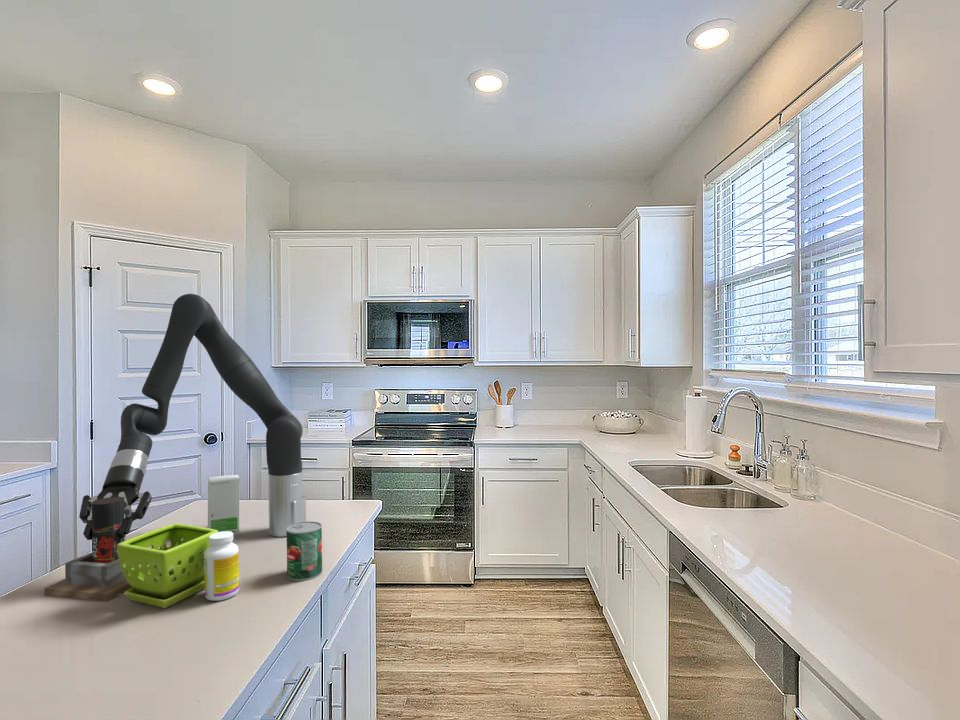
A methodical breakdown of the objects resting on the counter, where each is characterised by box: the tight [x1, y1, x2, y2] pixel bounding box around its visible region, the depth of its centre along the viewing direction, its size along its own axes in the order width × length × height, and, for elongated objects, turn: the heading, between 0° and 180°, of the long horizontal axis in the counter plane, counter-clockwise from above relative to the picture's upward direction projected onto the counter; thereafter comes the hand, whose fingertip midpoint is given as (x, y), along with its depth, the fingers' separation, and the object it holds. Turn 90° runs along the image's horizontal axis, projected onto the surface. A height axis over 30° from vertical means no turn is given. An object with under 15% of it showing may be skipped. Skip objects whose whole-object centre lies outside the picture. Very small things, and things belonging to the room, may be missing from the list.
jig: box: [44, 544, 171, 602], centre depth 119 cm, size 16×22×6 cm
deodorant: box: [91, 497, 126, 564], centre depth 116 cm, size 6×6×15 cm
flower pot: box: [117, 523, 218, 609], centre depth 109 cm, size 14×14×13 cm
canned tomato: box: [285, 520, 324, 582], centre depth 119 cm, size 8×8×11 cm
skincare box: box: [207, 474, 241, 532], centre depth 150 cm, size 8×7×16 cm
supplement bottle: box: [204, 531, 240, 602], centre depth 109 cm, size 7×7×13 cm
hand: (105, 536), depth 114 cm, fingers closed on deodorant, 6 cm apart
